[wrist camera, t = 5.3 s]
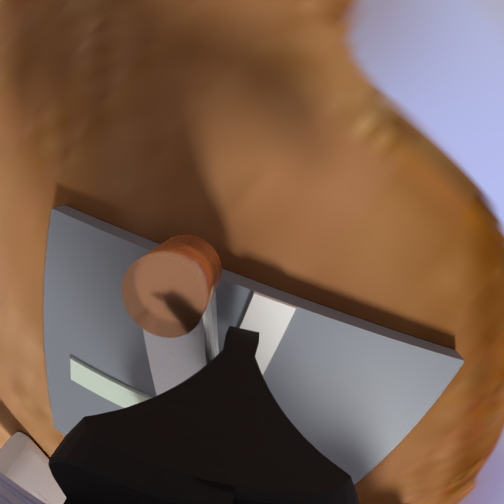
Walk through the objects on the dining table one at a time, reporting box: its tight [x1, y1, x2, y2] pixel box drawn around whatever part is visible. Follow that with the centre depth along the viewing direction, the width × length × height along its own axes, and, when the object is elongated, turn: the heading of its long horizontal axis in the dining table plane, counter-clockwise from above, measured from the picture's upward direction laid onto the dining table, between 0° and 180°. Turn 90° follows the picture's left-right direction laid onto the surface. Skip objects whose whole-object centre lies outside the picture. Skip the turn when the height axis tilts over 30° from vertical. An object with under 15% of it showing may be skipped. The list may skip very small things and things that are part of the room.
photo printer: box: [0, 432, 66, 504], centre depth 13 cm, size 10×4×12 cm, turn 14°
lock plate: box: [43, 205, 464, 485], centre depth 13 cm, size 20×16×2 cm
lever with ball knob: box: [121, 234, 222, 395], centre depth 10 cm, size 13×5×2 cm, turn 0°
